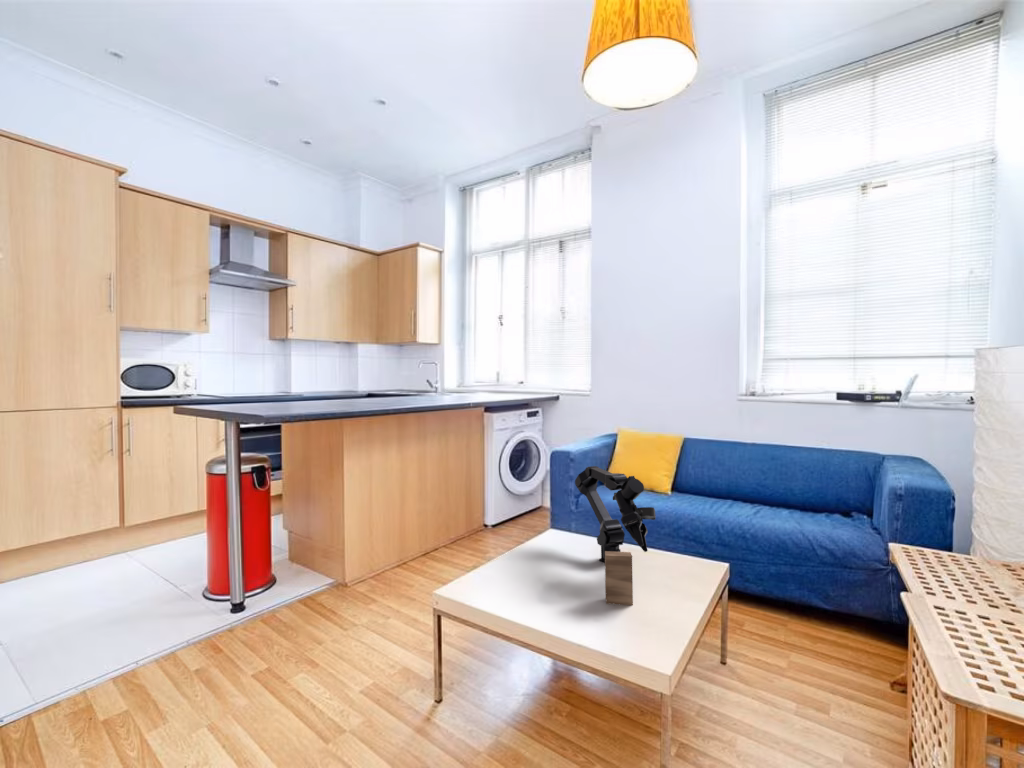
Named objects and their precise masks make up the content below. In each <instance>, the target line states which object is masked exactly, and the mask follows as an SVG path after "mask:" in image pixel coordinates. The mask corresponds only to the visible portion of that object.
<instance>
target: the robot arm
mask: <svg viewBox="0 0 1024 768" xmlns="http://www.w3.org/2000/svg"><path fill="white" fill-rule="evenodd" d="M598 482H601V483H603V484H605V485H604V486H605V487H606V488H607V489H608V490H609V491H616V492H614V493H613V496H612V501H616V504H617V506H618V510H619V512H620V514H621V518H620V520H619V519H616V518H615V519H613V518H612V517H611V515H610V513H609V511H608V509H607V508H606V506H605V504H604V501H603V500H602V497H601V496H600V494H599V492H598V490H597V489H598ZM574 484H575V485H574V486H575V487H576V488H577V490H578V491H579V493H580V494H582V495H584V497H586V499H587V501H588V503H589V505H590V507H591V509H592V511H593V513H594V515H595V517H596V518H597V521H598V522H599V525H600V526H599V535H598V536H597V537H596V541H597V545H599V546H600V558H599V560H598V561H599V562H602V563H605V551H613V552H621V549H620V546H622V545H624V541H625V536H626V535H625V531H624V529H625V530H626V531H627V532H628V533H629V535H630V537H631V538H632V539H633V540H634V542H635V543H636V544H637V545H638V546H639V547H640V548H641V550H642V551H643V552H644V553H646V552H648V551H649V549H648V546H647V545H648V544H647V539H646V536H647V535H648V529H647V526H646V524H645V523H643V522H644V520H651V521H652V520H653V521H655V520H656V510H655V508H654V507H652V506H650V507H649V506H648V507H647V506H646V507H645V506H643V507H637V505H636V504H635V501H634V500H636V499H637V498H638V497H639V496H640V495H641V494H642V493H643V492H644V490H645V487H644V486H645V485H644V484H643V483H642V482H641V480H639V479H638V478H636V477H635V475H629V476H627V475H626V474H625V473H619V472H618V473H617V472H616V473H615V472H614V473H612V472H610V471H608V470H605V469H603V468H600V467H599V466H597V465H593V466H587V467H585V469H584V470H583V471H582V472H580V473H579V474H577V476H576V477H575V481H574ZM620 521H621V523H622V524H621V523H620ZM623 527H624V529H623Z"/></svg>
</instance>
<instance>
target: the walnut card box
mask: <svg viewBox="0 0 1024 768" xmlns="http://www.w3.org/2000/svg"><path fill="white" fill-rule="evenodd" d="M604 577H605V578H604V581H605V585H604V586H605V587H604V588H605V591H604V592H605V603H606V605H619V604H620V605H622V606H634V599H633V598H634V592H633V590H634V588H633V556H632V552H631V551H620V552H613V551H605V562H604Z"/></svg>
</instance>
